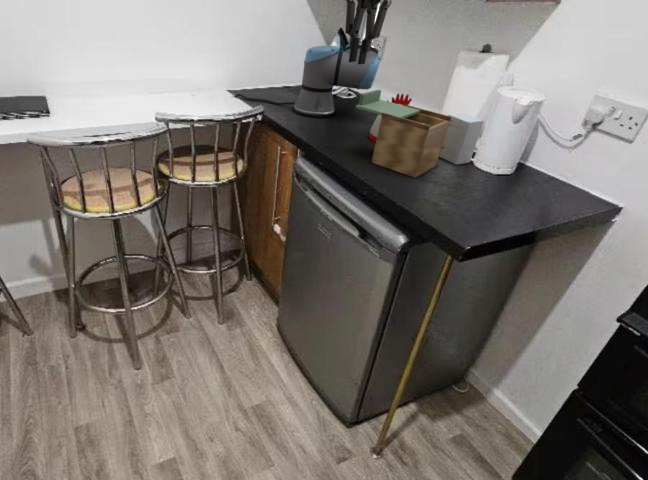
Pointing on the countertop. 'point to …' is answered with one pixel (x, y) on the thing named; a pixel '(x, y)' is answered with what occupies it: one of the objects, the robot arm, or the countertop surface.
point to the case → (410, 141)
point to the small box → (461, 138)
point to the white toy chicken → (376, 124)
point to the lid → (383, 105)
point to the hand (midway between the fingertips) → (356, 62)
